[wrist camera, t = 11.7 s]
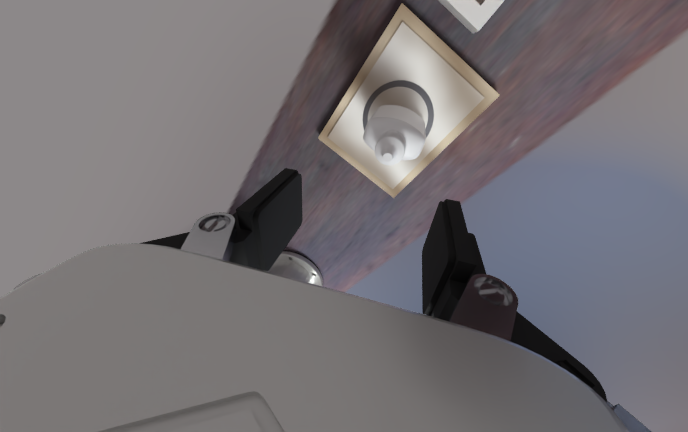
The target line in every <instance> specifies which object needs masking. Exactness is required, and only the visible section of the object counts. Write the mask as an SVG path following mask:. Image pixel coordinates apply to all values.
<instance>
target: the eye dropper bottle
mask: <svg viewBox="0 0 688 432" xmlns="http://www.w3.org/2000/svg"><path fill="white" fill-rule="evenodd" d="M425 139H426V134H425V122H424V120H423V119H422V118H421V117H420V116H419V115H418V114H417V113H415V112H414V111H412V110H410V109H408V108H406V107H403V106H398V105H382V106H380V107H378V109H377V110H376V111H375V112H374V114H373V115H372V116H371V118H370V119H369V121H368V122H367V125H366V128H365V131H364V135H363V140H364V142H365V143H366V144H367V145H368V146H369V147H370V148H371V149H372V150H374V151H375V156H376V158H377V160H378V161H379V162H380V163H382V164H384V165H390V166H391V165H394V164H397V163H398V162H399V161H401V160H413V159H416V158H417V157H418V156H419V155H420V153H421V151H422V149H423V146H424V144H425Z"/></svg>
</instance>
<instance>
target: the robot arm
mask: <svg viewBox="0 0 688 432" xmlns="http://www.w3.org/2000/svg"><path fill="white" fill-rule="evenodd" d="M301 223H302V178H301V174H298V171H297V170H292V169H287V168H285V169H284V170H283V171H281V172H280V173H279V174H278V175H277V176H275V177H274V178H273V179H272V180H271V181H269V182H268V183H267V184H266V185H265V186H264V187H262V188H261V189H260V190H259V191H258V192H256V193H255V194H254V195H253V196H252V197H250V198H249V199H248V200H247V201H246V202H244V203H243V204H242V205H241V206H240V207H238V208H237V209H236V213H235V214H234V215H233V216H232V215H231V214H228V213H212V214H208V215H206V216H203V217H201V218H200V219H198V220H197V222H196V223H195V224H194V226H193V228H192V229H191V231H190V232H188V233H183V234H179V235H175V236H171V237H166V238H162V239H157V240H153V241H148V242H144V243H139V244H137V243H134V244H133V243H132V244H115V245H107V246H101V247H97V248H93V249H90V250H88V251H85V252H83V253H81V254H79V255H77V256H75V257H73V258H71V259H69V260H67V261H65V262H63V263H61V264H59V265H57V266H55V267H53V268H52V269H50V270H48V271H46V272H44V273H42V274H39V275H36V276H34V277H31V278H29V279H27V280H25V281H23V282H22V283H21V284H19V285H18V286H16V287H15V288H14V290H13V291H11V292H9V293H7V294H6V295H4V296H2V297H1V298H0V432H651V431H650V430H649V429H648V428H647V427H646V426H644V425H643V424H642V423H641V422H640V421H638V420H637V419H636V418H635V417H634V416H633V415H631V414H630V413H629V412H628V411H626V410H625V409H624V408H623V407H622V406H621V405H620V404H616V405H615V406H613V405H612V404H611V403H610V402H608V401H607V399H606V394H605V392H604V389H603V388H602V386H601V384H600V382H599V381H598V380H597V379H596V377H595V376H594V375H593V374H592V373H591V372H590V371H589V370H588V369H587V368H586V367H585V366H584V365H583V364H581V363H580V362H579V361H578V360H577V359H575V358H574V357H573V356H571V355H570V354H569V353H568V352H567V351H565V350H564V349H563V348H562V347H560V346H559V345H558V344H557V343H555V342H554V341H553V340H552V339H550V338H549V337H548V336H547V335H545V334H544V333H543V332H542V331H540V330H539V329H538V328H537V327H535V326H534V325H533V324H532V323H531V322H529V321H528V320H527V319H526V318H524V317H523V316H522V315H520V314H519V313H518V312H517V307H518V298H517V295H516V293H515V292H514V291H513V290H512V288H511V287H510V286H509V285H507V284H506V283H505V282H503V281H502V280H500V279H498V278H496V277H493V276H491V275H487V274H486V272H485V268H484V265H483V262H482V258H481V255H480V252H479V248H478V245H477V242H476V238H475V236H474V235H473V234H471V233H468V231H467V228H466V223H465V220H464V216H463V212H462V209H461V205H460V202H459V201H454V200H448V199H446V200H445V201H444V202H442V201H440V202H439V205H438V208H437V210H436V213H435V216H434V219H433V221H432V224H431V227H430V230H429V233H428V235H427V238H426V241H425V244H424V247H423V251H422V290H423V292H422V293H423V294H422V295H423V314H420V313H416V312H413V311H410V310H406V309H402V308H398V307H395V306H391V305H388V304H384V303H380V302H377V301H373V300H370V299H366V298H362V297H359V296H355V295H352V294H347V293H344V292H341V291H337V290H333V289H330V288H326V287H322V285H323V279H322V275H321V273H320V271H319V270H318V268H317V267H316V266H315V265H314V264H313V263H312V262H311V261H309V260H308V259H306V258H305V257H303V256H301V255H299V254H296V253H293V252H287V251H283V250H284V249H285V247H286V246H287V244H288V243H289V241H290V240H291V239H292V237H293V236H294V234H295V233H296V231H297V230H298V229H299V227H300V226H301ZM424 314H426V315H424Z"/></svg>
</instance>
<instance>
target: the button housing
mask: <svg viewBox="0 0 688 432" xmlns="http://www.w3.org/2000/svg"><path fill="white" fill-rule="evenodd" d="M438 1H439V2H440V3H441V4H443V5H444V6H445V7H446V8H447V9H448V10H449V11H450V12H451V13H452V14H453V15H454V16H455V17H456V18H457V19H458V20H459V21H460V22H461V23H462V24H463V25H464V26H465V27H466V28H467V29H468V30H469V31H470V32H471V33H472V34H473V33H475V32H478V31H479V30H480V29H481V28H482V27H483V25H484V24H485V23H486V22H487V21H488V19H489V18H490V17H491V16H492V15H493V13H494V12H495V11H496V10H497V9H498V7H499V6H500V5H501V4H502V3H503V1H504V0H438Z"/></svg>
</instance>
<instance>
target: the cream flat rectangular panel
mask: <svg viewBox="0 0 688 432" xmlns="http://www.w3.org/2000/svg"><path fill="white" fill-rule="evenodd" d="M499 96H500V95H499V94H498V93H497V92H496V91H495V90H494V89H493V88H492V87H491V86H490V85H489V84H488V83H487V82H485V81H484V80H483V79H482V78H481V77H480V76H479V75H478V74H477V73H476V72H475V71H474V70H473V69H472V68H471V67H470V66H469V65H467V64H466V63H465V62H464V61H463V60H462V59H461V58H460V57H459V56H458V55H457V54H456V53H455V52H454V51H453V50H452V49H450V48H449V47H448V46H447V45H446V44H445V43H444V42H443V41H442V40H441V39H440V38H439V37H438V36H437V35H436V34H435V33H433V32H432V31H431V30H430V29H429V28H428V27H427V26H426V25H425V24H424V23H423V22H422V21H421V20H420V19H419V18H418V17H417V16H415V15H414V14H413V13H412V12H411V11H410V10H409V9H408V8H407V7H406V6H405V5H404V4H403V3H402V4H401V5H400V7H399V8H398V10H397V12H396V13H395V15H394V17H393V18H392V20H391V21H390V23H389V25H388V26H387V28H386V29H385V31H384V33H383V34H382V36H381V37H380V39H379V41H378V42H377V44H376V45H375V47H374V49H373V50H372V52H371V54H370V55H369V57H368V58H367V60H366V62H365V63H364V65H363V66H362V68H361V70H360V71H359V73H358V74H357V76H356V78H355V79H354V81H353V82H352V84H351V86H350V87H349V89H348V91H347V92H346V94H345V95H344V97H343V99H342V100H341V102H340V103H339V105H338V107H337V108H336V110H335V111H334V113H333V115H332V116H331V118H330V119H329V121H328V123H327V124H326V126H325V127H324V129H323V131H322V132H321V134H320V136H319V137H318V139H319V140H321V141H322V142H323V143H325V144H326V145H327V146H328V147H330V148H331V149H332V150H333V151H335V152H336V153H337V154H339V155H340V156H341V157H342V158H344V159H345V160H346V161H347V162H349V163H350V164H351V165H353V166H354V167H355V168H356V169H358V170H359V171H360V172H361V173H363V174H364V175H365V176H367V177H368V178H369V179H370V180H372V181H373V182H374V183H375V184H377V185H378V186H379V187H381V188H382V189H383V190H384V191H386V192H387V193H388V194H389V195H391V196H392V197H393V198H394V197H395V196H396V195H397V194H398V193H399V192H400V191H401V190H402V189H403V188H404V187H405V186H406V185H407V184H409V183H410V182H411V181H412V180H413V179H414V178H415V177H416V176H417V175H418V174H419V173H420V172H421V171H422V170H423V169H424V168H425V167H426V166H427V165H428V164H429V163H430V162H431V161H432V160H433V159H434V158H435V157H437V156H438V155H439V154H440V153H441V152H442V151H443V150H444V149H445V148H446V147H447V146H448V145H449V144H450V143H451V142H452V141H453V140H454V139H455V138H456V137H457V136H458V135H459V134H460V133H461V132H462V131H463V130H464V129H466V128H467V127H468V126H469V125H470V124H471V123H472V122H473V121H474V120H475V119H476V118H477V117H478V116H479V115H480V114H481V113H482V112H483V111H484V110H485V109H486V108H487V107H488V106H489V105H490V104H491V103H492V102H493V101H495V100H496V99H497V98H498V97H499ZM382 105H398V106H403V107H406V108H408V109H410V110H412V111H414V112H415V113H417V114H418V115H419V116H420V117H421V118H422V119H423V120H424V122H425V134H426V139H425V144H424V146H423V149H422V151H421V153H420V155H419V156H418V157H417V158H416V159H413V160H401V161H399V162H398V163H397V164H394V165H391V166H390V165H384V164H382V163H380V162H379V161H378V160H377V158H376V156H375V151H374V150H372V149H371V148H370V147H369V146H368V145H367V144H366V143H365V142H364V140H363V135H364V131H365V128H366V125H367V122H368V121H369V119H370V118H371V116H372V115H373V114H374V112H375V111H376V110H377V109H378V107H380V106H382Z"/></svg>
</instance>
